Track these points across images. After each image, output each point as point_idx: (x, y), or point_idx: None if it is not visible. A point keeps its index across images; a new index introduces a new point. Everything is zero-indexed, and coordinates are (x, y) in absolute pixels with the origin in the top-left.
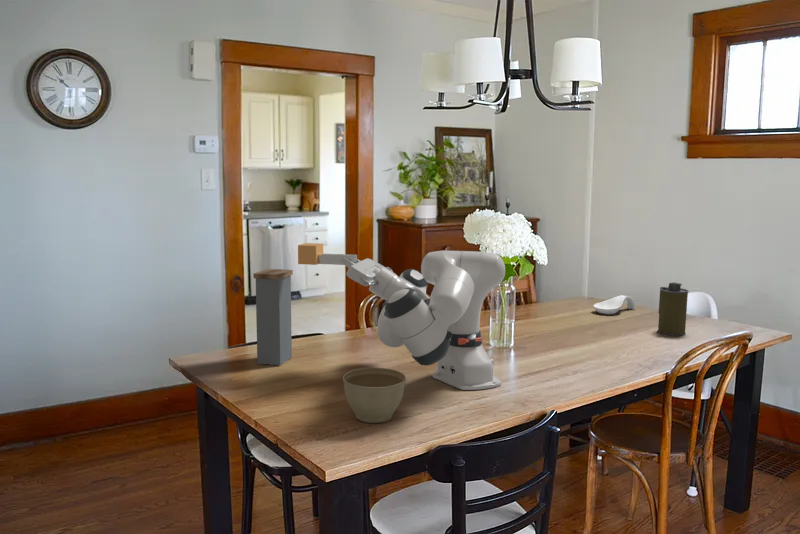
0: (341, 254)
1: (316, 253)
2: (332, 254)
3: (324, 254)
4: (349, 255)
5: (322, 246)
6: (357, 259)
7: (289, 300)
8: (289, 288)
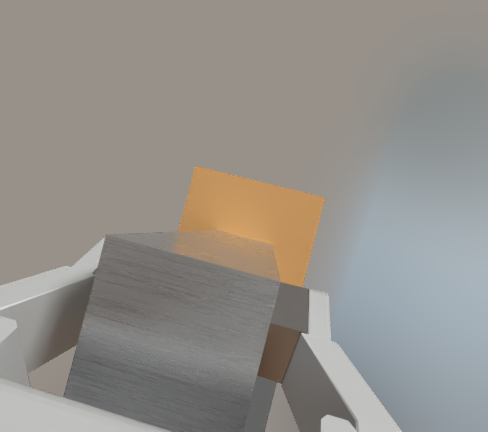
0: (255, 250)
1: (192, 213)
2: (238, 240)
3: (227, 234)
4: (166, 238)
5: (307, 210)
6: (364, 409)
7: (249, 427)
8: (262, 382)
